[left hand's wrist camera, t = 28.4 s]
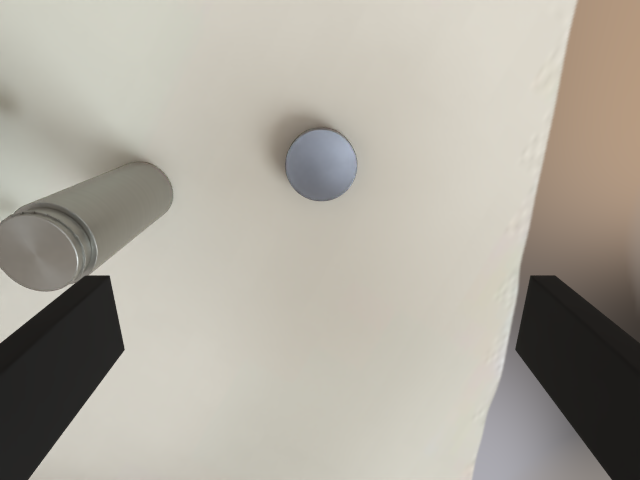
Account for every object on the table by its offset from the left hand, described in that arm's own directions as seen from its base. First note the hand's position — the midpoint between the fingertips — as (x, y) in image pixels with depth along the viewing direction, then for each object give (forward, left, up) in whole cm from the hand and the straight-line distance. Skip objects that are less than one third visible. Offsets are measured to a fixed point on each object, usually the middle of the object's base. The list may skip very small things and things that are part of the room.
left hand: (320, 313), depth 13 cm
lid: (0, 0, -25) cm, 25 cm away
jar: (-13, +11, -26) cm, 31 cm away
